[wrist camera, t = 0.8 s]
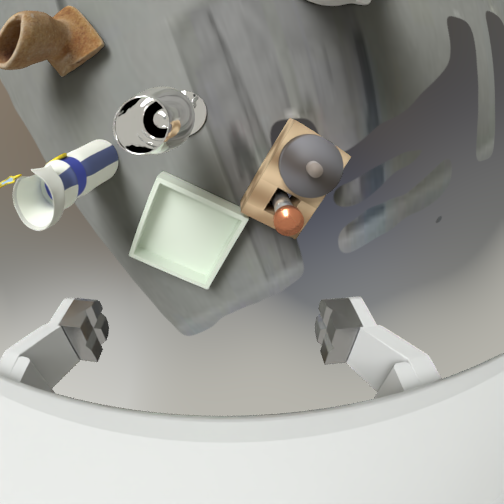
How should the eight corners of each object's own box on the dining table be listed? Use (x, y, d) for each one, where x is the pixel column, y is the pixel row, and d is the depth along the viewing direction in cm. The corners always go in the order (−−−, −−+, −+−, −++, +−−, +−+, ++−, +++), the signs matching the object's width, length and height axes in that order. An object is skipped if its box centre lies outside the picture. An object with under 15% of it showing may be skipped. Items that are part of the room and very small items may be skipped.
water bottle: (72, 150, 39) (-27, 205, 18) (108, 129, 38) (6, 171, 17) (89, 189, 43) (4, 265, 22) (126, 171, 42) (41, 244, 21)
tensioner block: (289, 118, 39) (301, 122, 32) (340, 150, 42) (361, 162, 34) (240, 200, 46) (240, 223, 38) (290, 225, 49) (300, 252, 41)
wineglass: (199, 83, 36) (168, 70, 19) (213, 128, 40) (193, 150, 23) (152, 100, 36) (91, 105, 19) (167, 143, 40) (118, 178, 23)
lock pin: (274, 178, 44) (284, 203, 35) (294, 190, 46) (309, 217, 36) (261, 198, 46) (268, 228, 37) (282, 209, 47) (293, 240, 38)
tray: (162, 170, 43) (157, 176, 40) (248, 210, 47) (248, 219, 44) (134, 245, 50) (128, 255, 47) (209, 278, 54) (207, 289, 51)
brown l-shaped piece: (32, 46, 26) (-20, 45, 13) (75, 0, 23) (28, -18, 11) (63, 93, 33) (7, 101, 20) (110, 45, 30) (61, 32, 17)
